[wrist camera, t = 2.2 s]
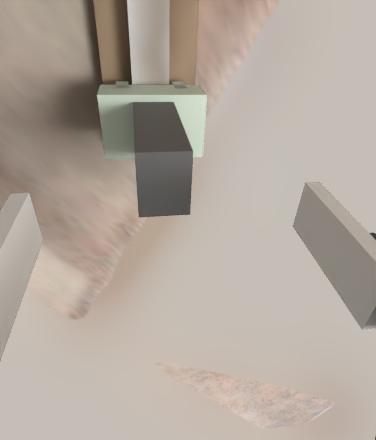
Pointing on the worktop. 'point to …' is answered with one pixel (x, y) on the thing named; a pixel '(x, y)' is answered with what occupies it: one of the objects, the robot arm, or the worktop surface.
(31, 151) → the worktop surface
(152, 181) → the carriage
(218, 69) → the worktop surface
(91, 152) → the worktop surface
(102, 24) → the track
